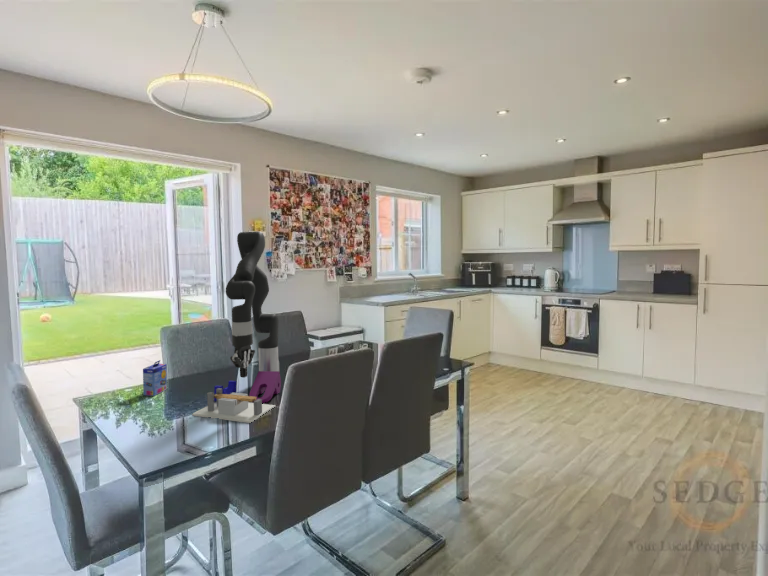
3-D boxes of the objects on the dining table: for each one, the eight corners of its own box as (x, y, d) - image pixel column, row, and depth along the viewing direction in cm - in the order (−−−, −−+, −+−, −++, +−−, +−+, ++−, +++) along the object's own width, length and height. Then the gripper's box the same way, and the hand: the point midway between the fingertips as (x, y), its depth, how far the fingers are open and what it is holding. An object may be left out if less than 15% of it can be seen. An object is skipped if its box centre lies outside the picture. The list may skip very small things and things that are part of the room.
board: (221, 401, 179) (220, 382, 178) (275, 407, 171) (275, 387, 171) (192, 415, 163) (191, 395, 162) (250, 423, 155) (250, 401, 155)
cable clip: (227, 393, 188) (227, 380, 188) (236, 394, 187) (236, 380, 188) (210, 400, 177) (211, 386, 177) (220, 401, 176) (220, 386, 176)
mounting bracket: (271, 415, 179) (282, 385, 194) (268, 400, 175) (279, 371, 190) (249, 415, 179) (261, 385, 195) (246, 400, 175) (258, 371, 190)
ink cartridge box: (154, 396, 185) (153, 363, 184) (142, 396, 186) (141, 363, 185) (168, 389, 195) (166, 358, 194) (156, 389, 196) (155, 358, 195)
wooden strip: (210, 398, 166) (210, 395, 166) (216, 395, 169) (216, 392, 169) (251, 402, 161) (251, 398, 161) (256, 399, 164) (256, 396, 164)
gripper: (244, 329, 170) (245, 371, 171) (222, 335, 157) (224, 381, 159) (260, 330, 168) (261, 372, 169) (240, 336, 155) (241, 382, 157)
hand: (243, 376), depth 164 cm, fingers closed
